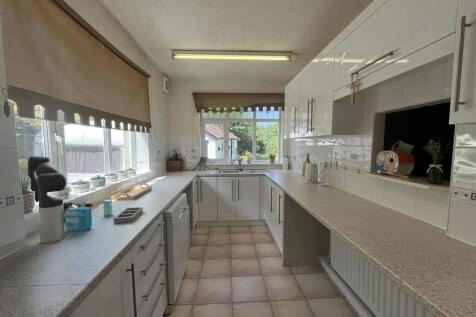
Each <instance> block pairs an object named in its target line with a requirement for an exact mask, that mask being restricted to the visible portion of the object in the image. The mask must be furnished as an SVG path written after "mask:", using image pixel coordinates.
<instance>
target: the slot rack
mask: <svg viewBox="0 0 476 317" xmlns="http://www.w3.org/2000/svg"><path fill="white" fill-rule="evenodd" d="M143 208H144V207H143V206H141V207H139V206H137V207H135V206H134V207H126V208H125V209H124V210H122V211H121V212H120V213H119V214H117V215H116V216H114V217H113V224H126V223H127V224H129V223H134V221H135V220H137V219H138V218H139V216H140V215H142V214H143V213H144V212H143V211H144V209H143Z"/></svg>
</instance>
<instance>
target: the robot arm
mask: <svg viewBox="0 0 476 317" xmlns="http://www.w3.org/2000/svg"><path fill="white" fill-rule="evenodd" d="M28 176H29V177H30V178H31V190H32V191H35V200H36V202H38V201H39V212H40V216H39V225H38V230H39V244H54V243H56V242H58V241H61V240H64V239H65V237H66V227H65V210H67V209H70V208H72V207H89V208H93V203H88V202H78V203H73V202H71V201H64V199H63V198H61V197H56V196H51V195H49V194H48V193H54V192H60V191H64V190H65V189H66V187H67V179H66V176H65V175H64V174H63V173H62V172H60V171H59V170H58V168H57V167H56V166H55V165H54V163H53V161H52V159H51V158H50V157H49V156H37V155H36V156H30V157H29V158H28V159H27V177H28ZM63 202H64V204H63Z"/></svg>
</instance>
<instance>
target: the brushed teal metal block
mask: <svg viewBox="0 0 476 317" xmlns="http://www.w3.org/2000/svg"><path fill="white" fill-rule="evenodd" d="M102 203H103V204H102V205H103V206H102V207H103V216H104V217H107V216H108V217H110V216H112V215H113V199H105V200H103V201H102Z"/></svg>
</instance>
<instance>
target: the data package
mask: <svg viewBox="0 0 476 317" xmlns="http://www.w3.org/2000/svg"><path fill="white" fill-rule="evenodd" d="M92 217H93V216H92V207H72V208H70V209H67V210H65V214H64V227H65V231H68V232H69V231H74V232H75V231H76V232H79V231H80V232H83V231H87V230H89V229H91V227H93V219H92Z"/></svg>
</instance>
